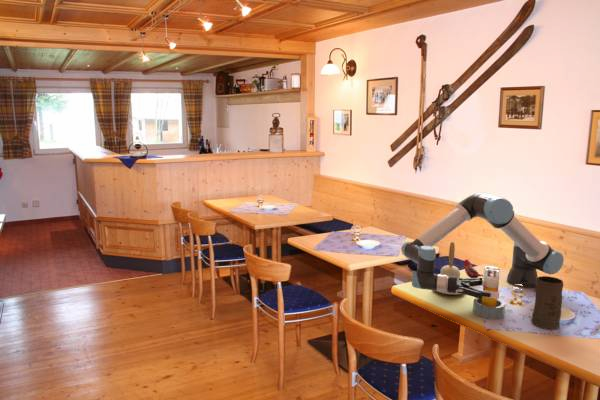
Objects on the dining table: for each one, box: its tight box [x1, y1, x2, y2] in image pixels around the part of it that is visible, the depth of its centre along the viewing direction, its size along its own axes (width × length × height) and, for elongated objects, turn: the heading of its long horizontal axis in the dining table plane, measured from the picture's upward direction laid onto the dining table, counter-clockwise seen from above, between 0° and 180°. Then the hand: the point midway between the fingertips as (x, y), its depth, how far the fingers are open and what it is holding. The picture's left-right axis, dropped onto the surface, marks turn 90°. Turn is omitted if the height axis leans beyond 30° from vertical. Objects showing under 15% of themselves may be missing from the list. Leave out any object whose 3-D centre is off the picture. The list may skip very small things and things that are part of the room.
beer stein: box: [530, 275, 564, 330], centre depth 207 cm, size 15×11×20 cm
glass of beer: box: [481, 276, 500, 307], centre depth 215 cm, size 6×6×15 cm
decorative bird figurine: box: [463, 259, 483, 278], centre depth 256 cm, size 3×18×10 cm, turn 16°
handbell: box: [437, 241, 462, 295], centre depth 239 cm, size 15×15×25 cm
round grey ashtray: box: [472, 297, 506, 320], centre depth 216 cm, size 12×12×5 cm
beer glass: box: [482, 266, 500, 280], centre depth 232 cm, size 7×7×15 cm
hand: (498, 290), depth 214 cm, fingers open, 13 cm apart
